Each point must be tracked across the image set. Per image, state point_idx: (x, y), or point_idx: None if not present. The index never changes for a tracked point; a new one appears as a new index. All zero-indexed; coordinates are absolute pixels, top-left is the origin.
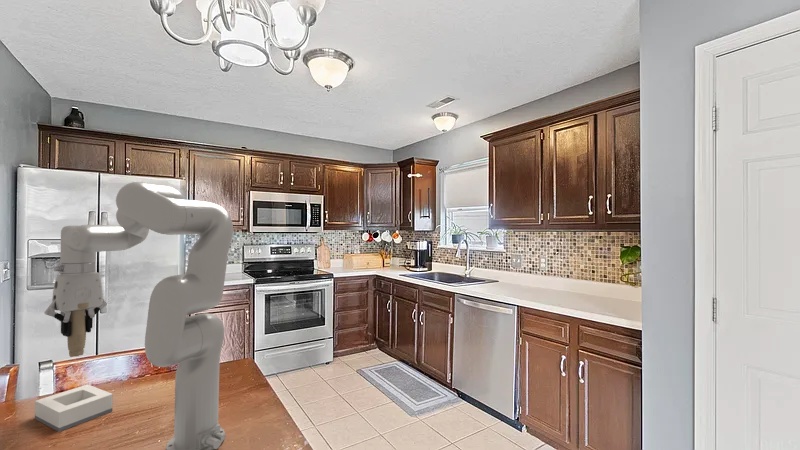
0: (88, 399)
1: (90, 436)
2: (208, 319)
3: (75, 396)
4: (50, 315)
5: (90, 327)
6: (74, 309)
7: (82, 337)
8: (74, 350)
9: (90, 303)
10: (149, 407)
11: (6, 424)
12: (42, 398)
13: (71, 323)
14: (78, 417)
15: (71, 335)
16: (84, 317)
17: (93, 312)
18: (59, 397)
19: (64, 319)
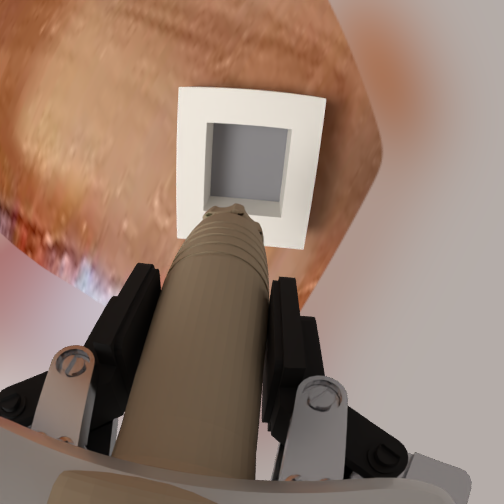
0: (237, 112)
1: (297, 3)
2: None
3: (224, 206)
4: (440, 463)
5: (129, 281)
6: (281, 496)
7: (203, 245)
8: (250, 223)
9: (20, 497)
10: (136, 26)
11: (334, 253)
12: (287, 247)
13: (257, 369)
14: (275, 91)
15: (263, 286)
16: (141, 377)
17: (49, 387)
18: (262, 215)
19: (339, 406)
